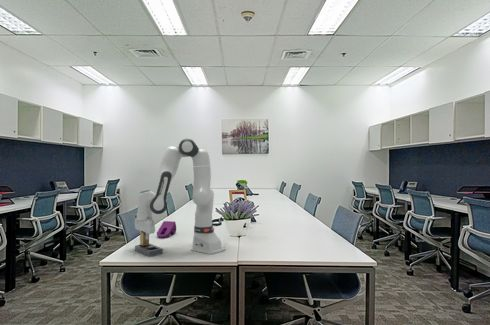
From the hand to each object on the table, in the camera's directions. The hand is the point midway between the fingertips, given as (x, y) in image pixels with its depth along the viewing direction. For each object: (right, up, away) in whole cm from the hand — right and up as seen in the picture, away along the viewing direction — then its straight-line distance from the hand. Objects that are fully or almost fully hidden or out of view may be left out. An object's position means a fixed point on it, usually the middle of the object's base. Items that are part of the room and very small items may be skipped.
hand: (144, 238), depth 193 cm
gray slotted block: (+4, -8, -3) cm, 9 cm away
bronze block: (0, -4, 0) cm, 4 cm away
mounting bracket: (+3, -8, +39) cm, 40 cm away
